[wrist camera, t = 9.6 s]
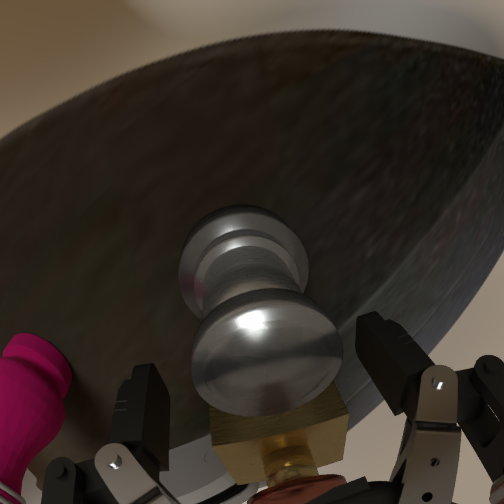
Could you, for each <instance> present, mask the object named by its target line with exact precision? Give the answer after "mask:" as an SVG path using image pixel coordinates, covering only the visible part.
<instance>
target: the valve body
mask: <svg viewBox="0 0 504 504" xmlns="http://www.w3.org/2000/svg"><path fill="white" fill-rule="evenodd" d="M240 229H253V230H259V231H263V232H265V233H268V234H270V235H272V236H273V237H275V238H276V239H278V240H279V241H280V242H281V243H282V244H283V245H284V247H285V248H286V249H287V251H288V252H289V254H290V256H291V257H292V259H293V261H294V262H295V264H296V267H297V270H298V275H299V285H298V286H299V288H300V290H301V292H302V293H303V292H304V290H305V287H306V284H307V280H308V273H309V267H308V259H307V255H306V252H305V249H304V247H303V245H302V243H301V242H300V240H299V239H298V238H297V236H296V235H295V234H294V232H293V231H292V230H291V229H290V228H289V226H288V225H287V224H286V223H285V222H284V221H283V220H282V219H281V218H280V217H278V216H277V215H276V214H274V213H272V212H271V211H269V210H266V209H264V208H261V207H257V206H253V205H232V206H227V207H224V208H220V209H218V210H216V211H213V212H212V213H210V214H208V215H206V216H205V217H204V218H202V219H201V220H200V221H199V222H198V223H197V224H196V225H195V226H194V227H193V228H192V230H191V231H190V233H189V234H188V236H187V238H186V240H185V242H184V245H183V248H182V253H181V259H180V265H179V272H178V281H179V288H180V292H181V294H182V297H183V299H184V301H185V303H186V304H187V306H188V307H189V309H190V310H191V311H192V312H193V313H194V314H195V315H196V316H197V317H198V318H200V319H201V320H202V310H201V308H200V307H199V305H198V303H197V300H196V297H195V293H194V278H195V268H196V264H197V261H198V258H199V256H200V255H201V253H202V251H203V250H204V249H205V247H206V246H207V245H208V244H209V243H210V242H212V241H213V240H214V239H216V238H217V237H219V236H221V235H223V234H225V233H227V232H230V231H234V230H240ZM209 415H210V429H211V442H212V448H213V449H214V451H215V452H216V454H217V455H218V457H219V458H220V460H221V462H222V463H223V465H224V466H225V468H226V469H227V470H228V472H229V473H230V475H231V476H232V478H233V479H234V481H235V482H236V483H237V485H242V484H248V483H254V482H260V481H265V480H266V481H267V486H268V488H267V489H264V490H262V491H260V492H258V493H256V494H254V495H253V496H251V497H250V498H249V499H248V501H247V504H304V503H307V502H309V501H311V500H312V499H314V498H316V497H318V496H320V495H322V494H323V493H325V492H327V491H329V490H330V489H332V488H334V487H337V486H340V485H342V484H345V483H347V482H346V479H345V477H343V476H341V475H336V474H327V475H319V474H318V471H317V468H318V467H321V466H325V465H328V464H331V463H334V462H337V461H340V460H343V453H344V447H345V440H346V434H347V426H348V419H349V412H348V410H347V408H346V406H345V404H344V402H343V400H342V398H341V396H340V394H339V391H338V389H337V387H336V385H335V383H334V381H332V382H331V383H330V384H329V385H328V386H327V388H326V389H325V390H324V391H322V392H321V393H320V394H319V395H318V396H316V397H315V398H313V399H312V400H310V401H309V402H307V403H305V404H304V405H301V406H299V407H297V408H295V409H292V410H290V411H287V412H283V413H280V414H275V415H269V416H259V417H250V416H240V415H234V414H230V413H227V412H224V411H221V410H219V409H217V408H215V407H213V406H212V405H210V404H209Z"/></svg>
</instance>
